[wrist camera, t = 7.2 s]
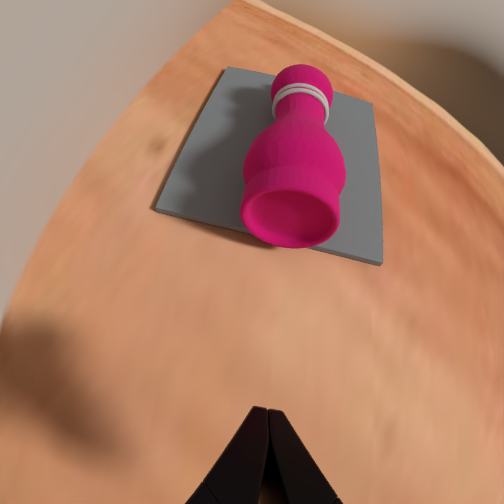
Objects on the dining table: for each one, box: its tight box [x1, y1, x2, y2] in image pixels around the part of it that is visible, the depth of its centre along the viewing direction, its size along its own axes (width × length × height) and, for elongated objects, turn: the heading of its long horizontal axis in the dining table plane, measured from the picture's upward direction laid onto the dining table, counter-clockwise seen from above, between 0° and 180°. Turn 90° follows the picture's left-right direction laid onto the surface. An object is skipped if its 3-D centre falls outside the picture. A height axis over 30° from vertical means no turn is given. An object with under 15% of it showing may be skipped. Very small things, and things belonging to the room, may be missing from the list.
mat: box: [155, 67, 383, 266], centre depth 29 cm, size 22×18×1 cm
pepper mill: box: [240, 64, 346, 248], centre depth 25 cm, size 7×7×20 cm
